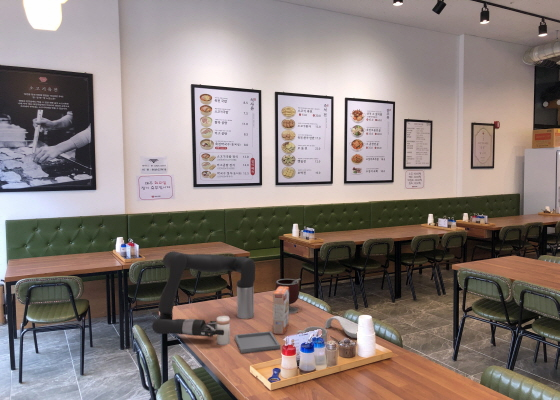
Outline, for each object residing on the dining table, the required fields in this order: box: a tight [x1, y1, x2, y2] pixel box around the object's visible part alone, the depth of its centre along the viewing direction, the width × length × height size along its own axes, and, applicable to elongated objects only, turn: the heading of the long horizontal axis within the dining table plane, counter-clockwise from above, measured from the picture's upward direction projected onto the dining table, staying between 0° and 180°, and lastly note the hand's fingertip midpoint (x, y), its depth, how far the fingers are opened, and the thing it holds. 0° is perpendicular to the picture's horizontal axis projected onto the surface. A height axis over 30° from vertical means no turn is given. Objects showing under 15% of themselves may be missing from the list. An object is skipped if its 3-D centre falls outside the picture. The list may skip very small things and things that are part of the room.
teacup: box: [296, 325, 328, 343], centre depth 205 cm, size 14×11×8 cm
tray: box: [234, 330, 281, 355], centre depth 208 cm, size 18×18×2 cm
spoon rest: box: [324, 315, 358, 339], centre depth 222 cm, size 24×12×7 cm, turn 47°
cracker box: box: [272, 286, 290, 335], centre depth 226 cm, size 14×6×21 cm, turn 168°
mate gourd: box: [274, 278, 301, 315], centre depth 256 cm, size 16×14×20 cm
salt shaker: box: [216, 315, 231, 346], centre depth 210 cm, size 6×6×12 cm
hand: (226, 329), depth 210 cm, fingers open, 8 cm apart
